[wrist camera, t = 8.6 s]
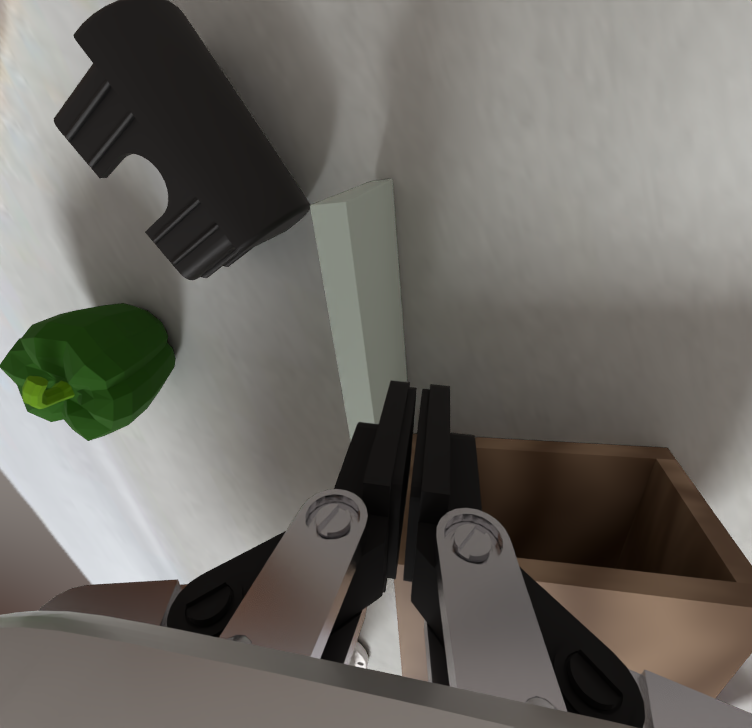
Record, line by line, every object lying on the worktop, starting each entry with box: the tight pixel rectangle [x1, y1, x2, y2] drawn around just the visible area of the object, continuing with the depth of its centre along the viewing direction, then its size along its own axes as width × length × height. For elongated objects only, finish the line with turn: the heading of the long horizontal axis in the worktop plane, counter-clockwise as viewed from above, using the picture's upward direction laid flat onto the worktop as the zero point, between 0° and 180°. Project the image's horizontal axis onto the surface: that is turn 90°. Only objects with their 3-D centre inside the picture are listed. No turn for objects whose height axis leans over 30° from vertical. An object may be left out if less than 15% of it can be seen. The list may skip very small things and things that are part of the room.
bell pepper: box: [0, 303, 176, 441], centre depth 26 cm, size 8×8×10 cm
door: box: [310, 179, 407, 441], centre depth 21 cm, size 18×2×11 cm, turn 6°
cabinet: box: [394, 434, 752, 698], centre depth 27 cm, size 18×14×11 cm
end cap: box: [54, 0, 310, 280], centre depth 20 cm, size 10×7×7 cm
